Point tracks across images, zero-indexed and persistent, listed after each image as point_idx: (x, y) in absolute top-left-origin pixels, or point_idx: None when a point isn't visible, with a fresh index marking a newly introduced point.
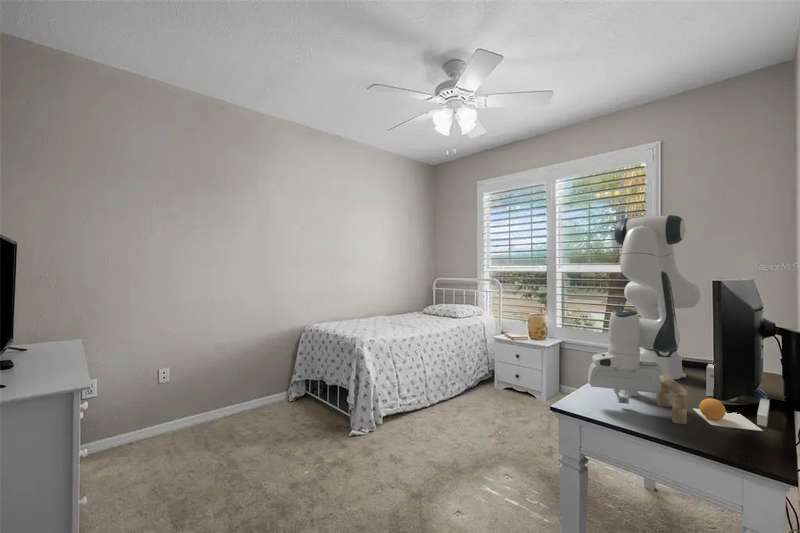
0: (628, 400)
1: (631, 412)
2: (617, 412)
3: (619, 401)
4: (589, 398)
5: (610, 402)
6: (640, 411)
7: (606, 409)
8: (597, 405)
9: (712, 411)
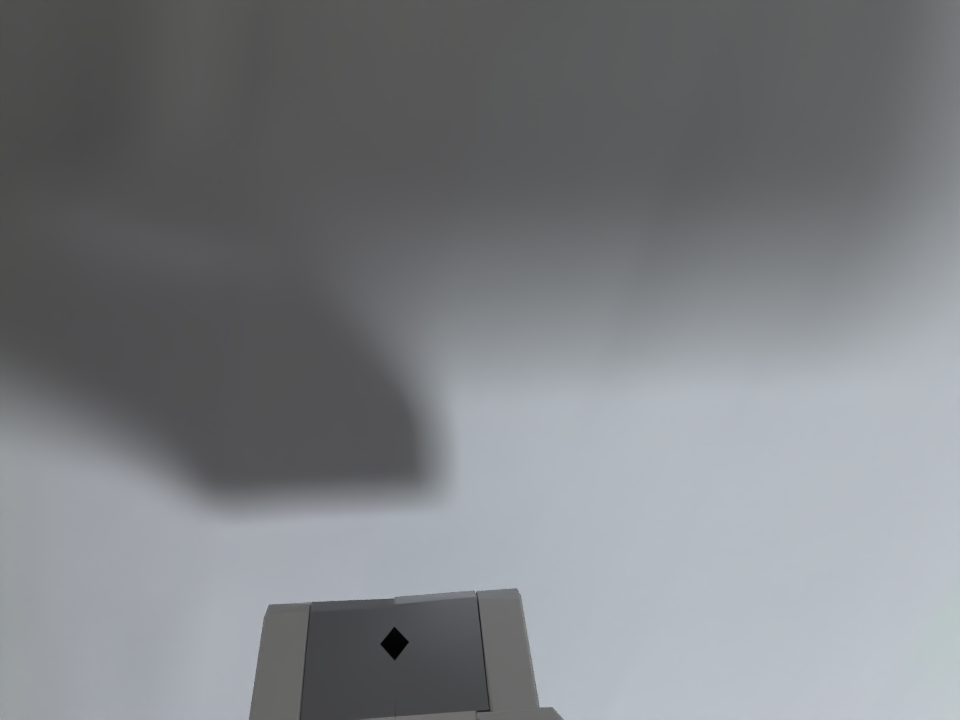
0: (266, 679)
1: (241, 340)
2: (607, 218)
3: (502, 612)
4: (902, 710)
5: (577, 679)
6: (24, 469)
7: (819, 320)
8: (921, 472)
9: None
